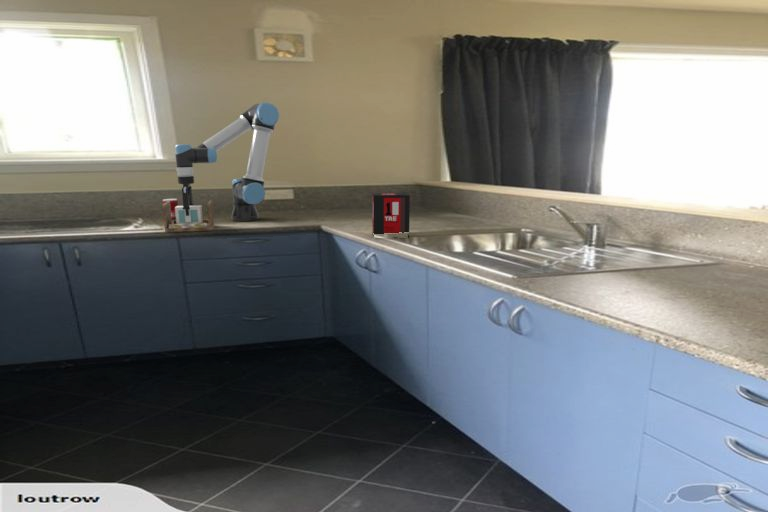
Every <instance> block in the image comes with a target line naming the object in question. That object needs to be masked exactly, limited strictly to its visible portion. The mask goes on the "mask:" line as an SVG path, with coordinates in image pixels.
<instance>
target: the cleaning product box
mask: <svg viewBox="0 0 768 512" xmlns="http://www.w3.org/2000/svg"><path fill="white" fill-rule="evenodd" d="M371 195H372V197H371V198H372V199H371V200H372V201H371V203H372V204H371V205H372V208H371V209H372V221H371V223H372V234H373V233H374V234H384V233H399V232H402V233H404V232H409V233H410V199H411V195H410V194H409V193H408V192H396V193H395V192H389V193H388V192H384V193H383V192H381V193H380V192H377V193H376V192H375V193H374V192H373V193H371Z"/></svg>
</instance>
